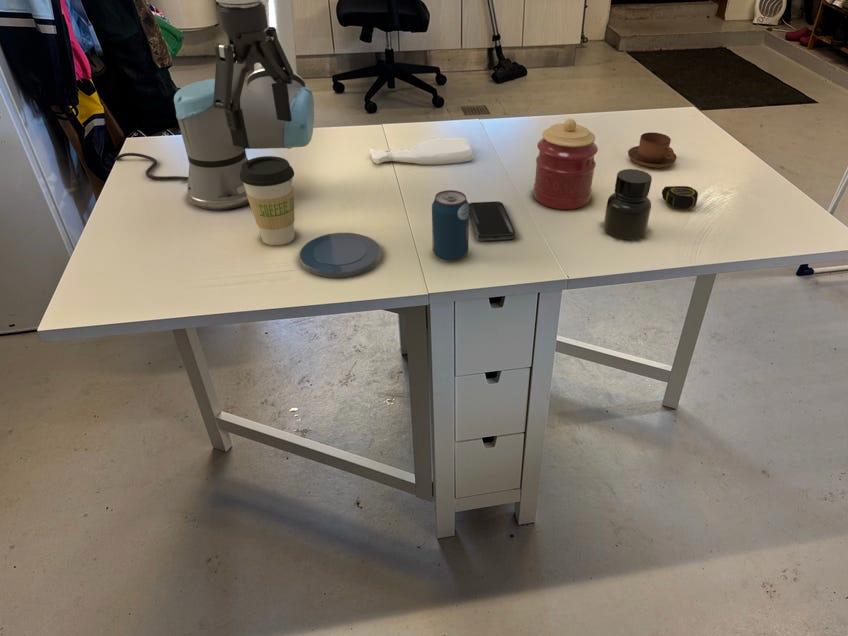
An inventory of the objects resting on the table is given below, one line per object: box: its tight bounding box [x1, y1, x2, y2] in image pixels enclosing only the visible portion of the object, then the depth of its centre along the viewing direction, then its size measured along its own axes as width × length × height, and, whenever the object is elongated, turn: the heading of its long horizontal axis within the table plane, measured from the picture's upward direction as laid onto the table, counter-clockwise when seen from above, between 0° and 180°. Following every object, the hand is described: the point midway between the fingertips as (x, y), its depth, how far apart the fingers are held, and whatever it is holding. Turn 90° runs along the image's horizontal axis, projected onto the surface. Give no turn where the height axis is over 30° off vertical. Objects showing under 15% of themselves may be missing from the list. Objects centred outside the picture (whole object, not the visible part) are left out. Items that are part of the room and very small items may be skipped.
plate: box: [299, 232, 381, 279], centre depth 125 cm, size 15×15×1 cm
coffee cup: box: [240, 155, 296, 246], centre depth 126 cm, size 10×10×15 cm
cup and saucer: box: [627, 132, 678, 168], centre depth 164 cm, size 12×12×6 cm
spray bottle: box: [369, 137, 474, 166], centre depth 163 cm, size 3×11×24 cm
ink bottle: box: [603, 168, 653, 240], centre depth 134 cm, size 10×9×12 cm
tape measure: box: [661, 185, 699, 210], centre depth 146 cm, size 7×7×4 cm
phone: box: [468, 200, 516, 242], centre depth 138 cm, size 8×1×15 cm
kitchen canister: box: [533, 118, 599, 210], centre depth 143 cm, size 13×13×18 cm
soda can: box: [431, 189, 470, 263], centre depth 124 cm, size 7×7×12 cm
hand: (263, 132), depth 120 cm, fingers open, 13 cm apart
